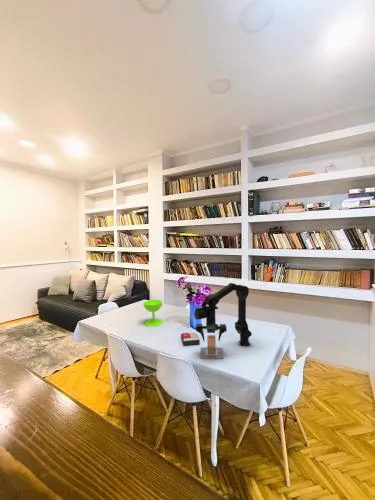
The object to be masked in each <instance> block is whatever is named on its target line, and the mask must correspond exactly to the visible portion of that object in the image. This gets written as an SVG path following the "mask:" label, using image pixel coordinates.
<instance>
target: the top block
mask: <svg viewBox="0 0 375 500" xmlns="http://www.w3.org/2000/svg"><path fill="white" fill-rule="evenodd" d="M206 335H207V337H206V338H207V339H206V340H207V347H208V346H213V347H216V348H217V344H216V334H214V335H213V334H212V335H211V334H206Z"/></svg>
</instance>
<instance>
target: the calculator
mask: <svg viewBox="0 0 375 500" xmlns="http://www.w3.org/2000/svg"><path fill="white" fill-rule="evenodd" d="M180 339H181V342H182V346H183V347H192V346H194V347H195V346H200V341H201V340H200V338H199V336H198V335H197V332H195V331H191V332H182V333H181V334H180Z"/></svg>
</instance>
